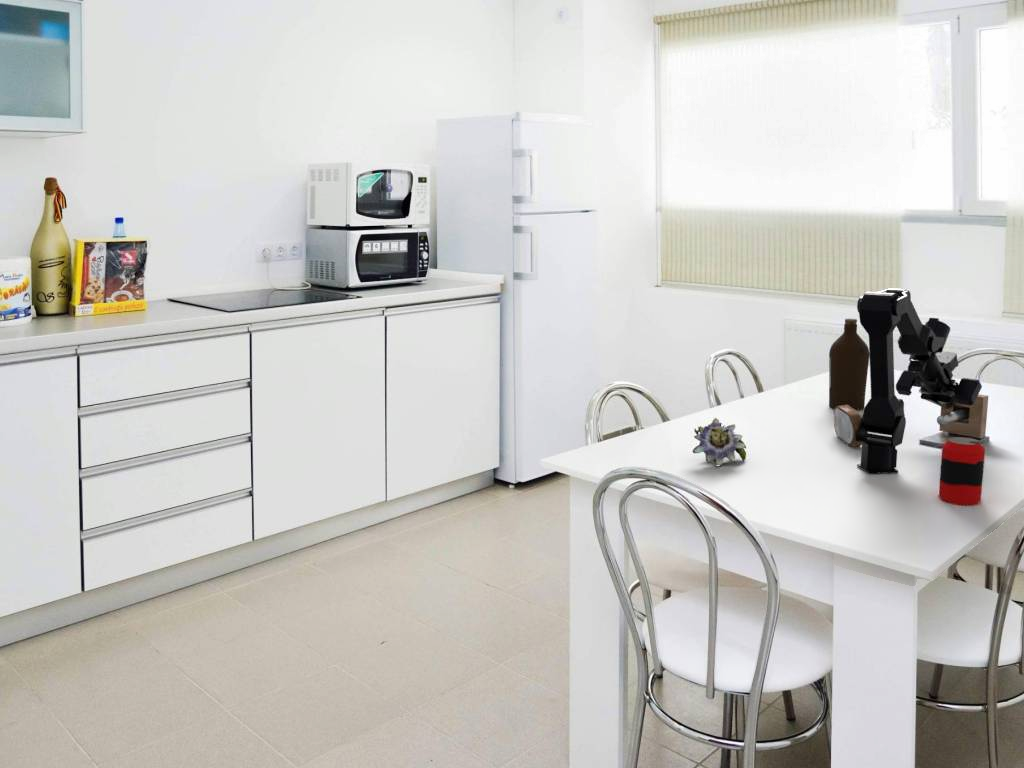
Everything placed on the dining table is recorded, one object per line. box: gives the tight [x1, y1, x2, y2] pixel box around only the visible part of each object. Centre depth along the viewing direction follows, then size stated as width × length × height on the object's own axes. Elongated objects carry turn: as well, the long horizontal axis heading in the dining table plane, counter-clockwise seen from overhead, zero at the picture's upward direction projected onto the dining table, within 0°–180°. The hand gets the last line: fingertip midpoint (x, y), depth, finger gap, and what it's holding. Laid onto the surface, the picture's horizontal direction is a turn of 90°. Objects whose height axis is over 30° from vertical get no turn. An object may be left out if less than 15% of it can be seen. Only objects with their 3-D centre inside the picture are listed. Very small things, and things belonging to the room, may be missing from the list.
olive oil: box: [828, 318, 870, 411], centre depth 266 cm, size 11×11×25 cm
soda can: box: [938, 437, 986, 506], centre depth 186 cm, size 8×8×12 cm
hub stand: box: [918, 406, 991, 449], centre depth 229 cm, size 14×10×11 cm
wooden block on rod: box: [938, 393, 989, 438], centre depth 231 cm, size 2×10×10 cm, turn 39°
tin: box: [833, 405, 862, 447], centre depth 231 cm, size 15×3×8 cm, turn 179°
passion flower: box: [692, 417, 747, 466], centre depth 217 cm, size 11×11×12 cm
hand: (947, 407), depth 232 cm, fingers closed, pressing on wooden block on rod
